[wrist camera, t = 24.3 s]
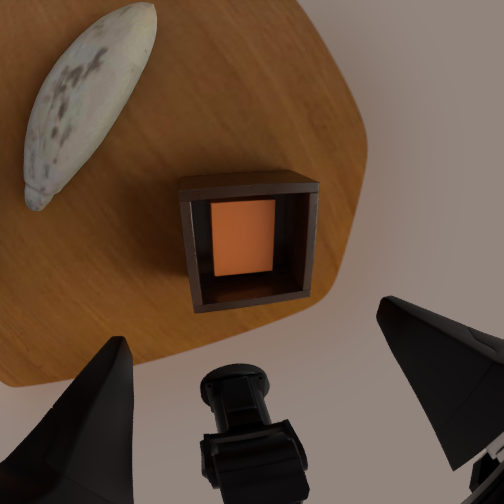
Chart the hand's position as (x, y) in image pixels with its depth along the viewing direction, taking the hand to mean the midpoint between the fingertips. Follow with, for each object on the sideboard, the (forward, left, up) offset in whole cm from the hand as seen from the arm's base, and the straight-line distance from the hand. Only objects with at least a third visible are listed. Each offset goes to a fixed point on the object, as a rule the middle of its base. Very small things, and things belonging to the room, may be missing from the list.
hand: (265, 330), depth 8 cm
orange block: (-1, -1, -11) cm, 11 cm away
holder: (-1, -1, -12) cm, 12 cm away
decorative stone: (+9, +9, -12) cm, 18 cm away
